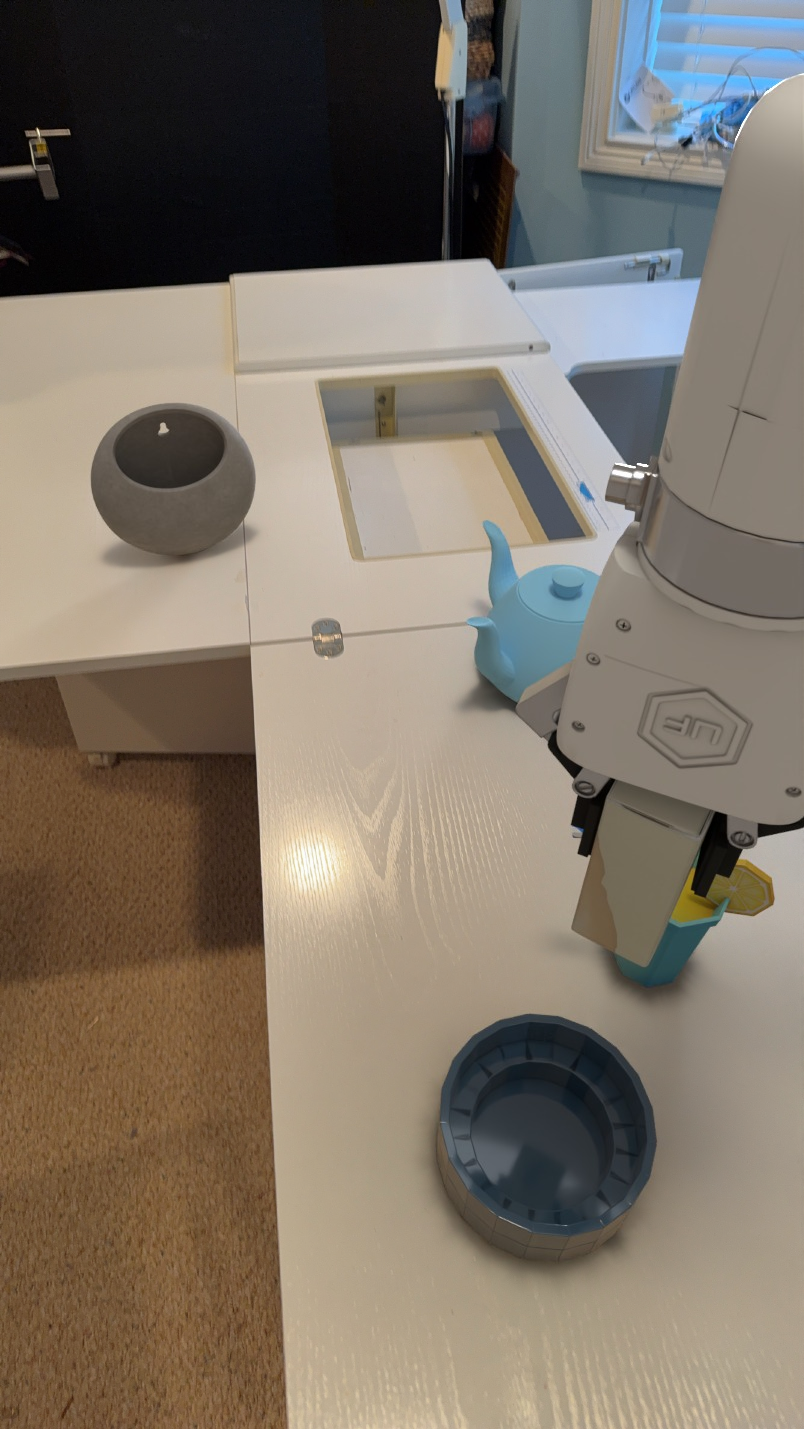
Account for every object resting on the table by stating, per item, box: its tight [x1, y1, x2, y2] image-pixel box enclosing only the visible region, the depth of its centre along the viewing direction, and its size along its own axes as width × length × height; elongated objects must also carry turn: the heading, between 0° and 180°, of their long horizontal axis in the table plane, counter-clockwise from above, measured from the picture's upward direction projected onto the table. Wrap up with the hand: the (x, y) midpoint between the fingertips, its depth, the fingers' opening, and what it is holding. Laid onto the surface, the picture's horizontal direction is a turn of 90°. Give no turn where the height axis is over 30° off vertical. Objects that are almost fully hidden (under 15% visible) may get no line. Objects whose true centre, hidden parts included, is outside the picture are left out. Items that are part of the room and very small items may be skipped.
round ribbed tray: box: [436, 1013, 658, 1263], centre depth 56 cm, size 13×13×6 cm
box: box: [570, 779, 716, 967], centre depth 42 cm, size 5×4×11 cm
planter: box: [90, 402, 257, 556], centre depth 100 cm, size 18×7×19 cm, turn 110°
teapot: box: [465, 519, 601, 704], centre depth 88 cm, size 17×19×12 cm
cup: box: [571, 825, 776, 988], centre depth 63 cm, size 14×8×15 cm, turn 79°
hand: (647, 851), depth 42 cm, fingers closed on box, 4 cm apart
